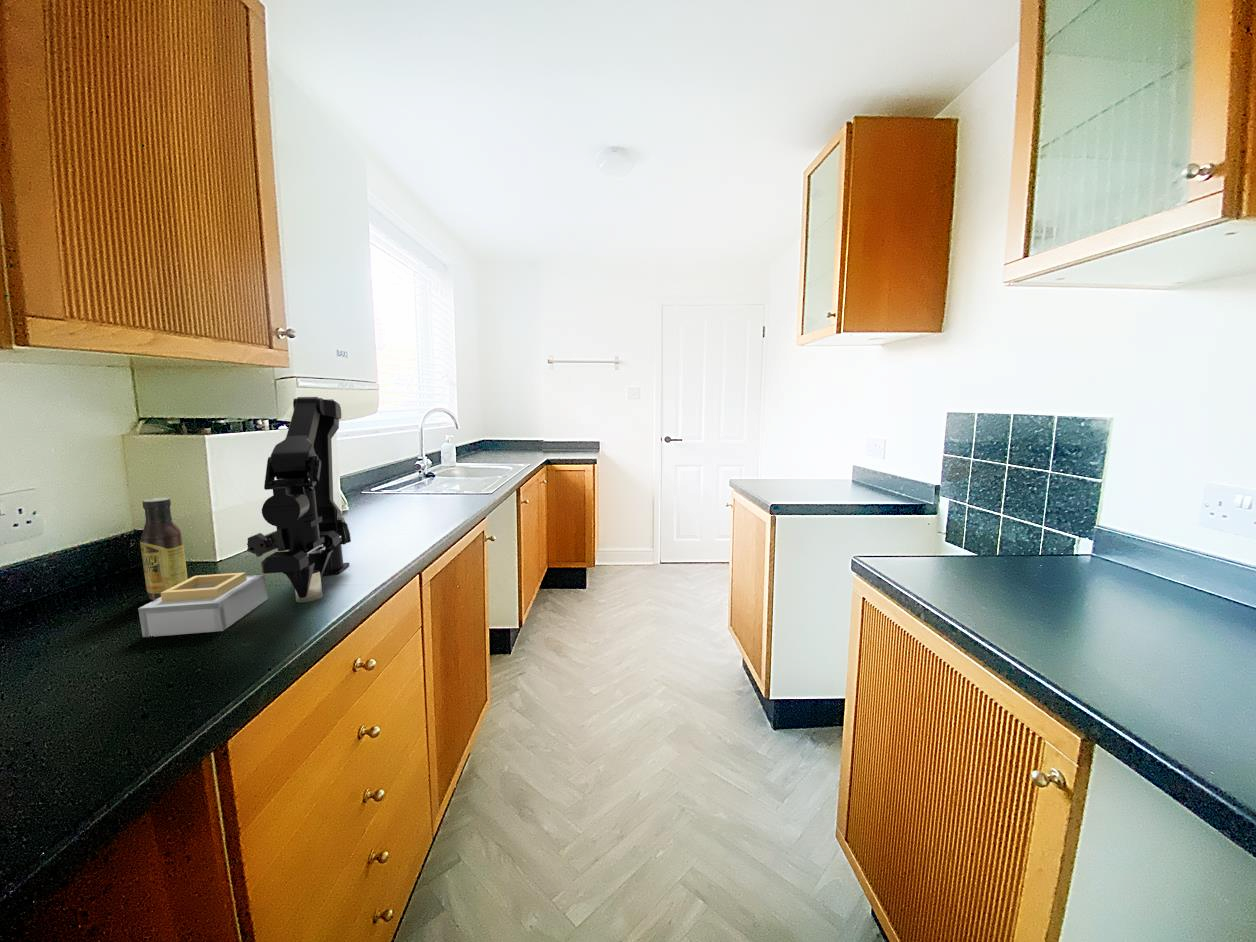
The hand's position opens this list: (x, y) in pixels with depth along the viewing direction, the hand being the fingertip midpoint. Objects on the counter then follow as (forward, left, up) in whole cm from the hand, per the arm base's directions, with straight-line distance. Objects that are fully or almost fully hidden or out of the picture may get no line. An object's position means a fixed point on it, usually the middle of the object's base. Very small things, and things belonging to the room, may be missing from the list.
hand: (308, 592), depth 100 cm
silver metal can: (0, 0, -1) cm, 1 cm away
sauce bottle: (-7, -29, -1) cm, 30 cm away
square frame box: (+6, -14, -1) cm, 15 cm away
